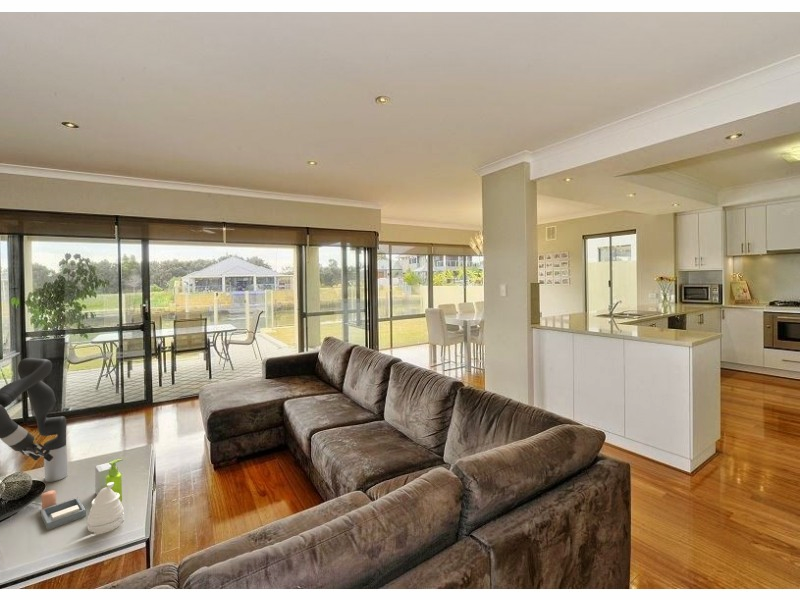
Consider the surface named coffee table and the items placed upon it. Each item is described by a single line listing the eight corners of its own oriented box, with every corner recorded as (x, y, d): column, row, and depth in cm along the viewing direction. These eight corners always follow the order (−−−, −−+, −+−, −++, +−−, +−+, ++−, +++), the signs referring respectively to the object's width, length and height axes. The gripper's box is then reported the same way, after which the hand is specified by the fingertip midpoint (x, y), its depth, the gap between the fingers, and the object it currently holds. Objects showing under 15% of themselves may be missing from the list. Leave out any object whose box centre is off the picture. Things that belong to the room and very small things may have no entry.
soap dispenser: (127, 498, 190) (125, 459, 189) (112, 506, 183) (111, 465, 182) (118, 496, 192) (117, 457, 190) (104, 503, 185) (102, 463, 184)
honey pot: (121, 512, 179) (120, 474, 178) (126, 525, 170) (124, 485, 168) (86, 523, 170) (84, 484, 169) (88, 538, 161) (87, 496, 160)
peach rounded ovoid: (41, 510, 180) (40, 493, 179) (55, 505, 183) (54, 489, 183) (43, 514, 176) (42, 497, 176) (57, 509, 180) (56, 493, 180)
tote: (41, 518, 174) (40, 509, 174) (78, 505, 184) (77, 497, 184) (47, 532, 164) (47, 523, 164) (86, 517, 174) (85, 509, 174)
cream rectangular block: (51, 522, 169) (50, 513, 169) (77, 513, 176) (77, 504, 176) (53, 526, 167) (52, 517, 166) (79, 516, 174) (79, 508, 173)
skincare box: (95, 494, 193) (94, 465, 192) (109, 489, 197) (108, 461, 196) (99, 501, 187) (98, 471, 186) (114, 495, 192) (113, 467, 191)
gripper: (36, 430, 168) (62, 452, 177) (14, 429, 172) (41, 450, 181) (20, 446, 162) (48, 467, 171) (-3, 444, 166) (26, 465, 175)
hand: (44, 459), depth 176 cm, fingers open, 8 cm apart
